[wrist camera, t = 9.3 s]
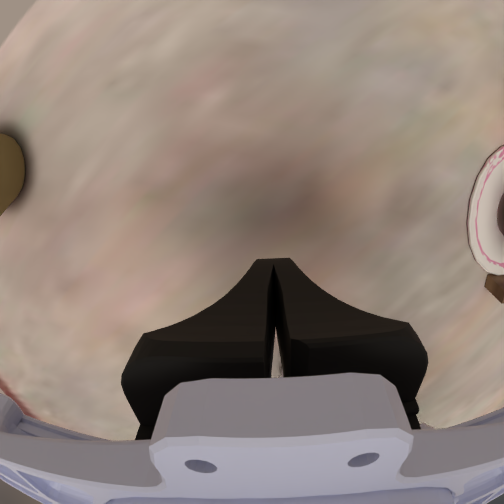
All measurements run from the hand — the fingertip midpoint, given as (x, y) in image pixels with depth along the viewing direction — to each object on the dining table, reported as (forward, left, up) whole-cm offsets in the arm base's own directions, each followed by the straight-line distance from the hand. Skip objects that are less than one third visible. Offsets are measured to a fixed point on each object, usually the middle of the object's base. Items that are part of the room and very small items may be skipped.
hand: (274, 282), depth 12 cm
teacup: (+21, 0, -10) cm, 23 cm away
